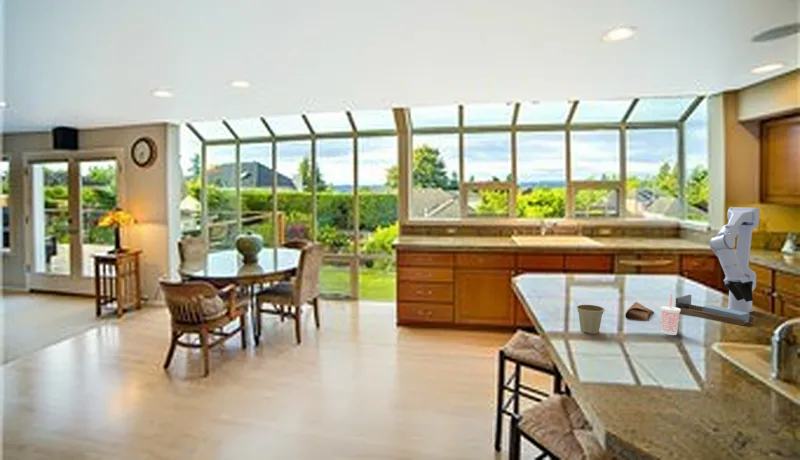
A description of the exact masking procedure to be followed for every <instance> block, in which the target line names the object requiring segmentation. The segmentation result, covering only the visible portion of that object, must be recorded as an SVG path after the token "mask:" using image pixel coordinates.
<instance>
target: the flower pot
mask: <svg viewBox="0 0 800 460" xmlns="http://www.w3.org/2000/svg"><path fill="white" fill-rule="evenodd" d="M575 308H576V309H577V312H578V318H579V319H578V320H579V327H580V331H581V332H582V333H588V334H598V333H599V332H600V329H601V324H602V318H603V314H604V313H605V310H606V309H605V308H604V307H602V306H599V305H596V304H595V305H594V304H578V305H576V307H575Z"/></svg>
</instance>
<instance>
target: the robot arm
mask: <svg viewBox="0 0 800 460" xmlns="http://www.w3.org/2000/svg"><path fill="white" fill-rule="evenodd" d="M760 215H761V214H760V209H759V208H758V207H740V206H739V207H735V206H730V207H729V208H728V210H727V215H726V218H727V220H728V222H727V224H724V225H723V226H722V227H721V228H720V230H719V231H718V232H717V235H716V236H713V237H711V239H710V240H709V248H710V249H711V250H712V252H713V253H714V255H715V256H716V257H717V258H718V261H719V263H720V266H721V269H722V270H723V273H724V275H725V276H724V279H723V282H724V286H725V288H727V290H729V291H728V305H727V306H728V307H727V308H728V309H732V310H737V311H742V312H747V313H749V314H750V313H752V312H755V309H754V308H753V300H754V298H753V296H754V295H753V291H754V290H755V289H756V287H757V274H756V272H755V271H754V270H752V269H751V268H750V267H749V266H750V256H751V255H750V254H751V249H752V248H751V245H752V237H753V231H754V229H757V228H759V224H760V217H761V216H760ZM736 238H737V240H736ZM735 247H736V249H734V248H735Z"/></svg>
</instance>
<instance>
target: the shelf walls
mask: <svg viewBox="0 0 800 460" xmlns="http://www.w3.org/2000/svg"><path fill="white" fill-rule="evenodd" d="M702 307H703V306H702V305H695V304H691V305H690V307H689V309H686V308H681V307H680V309H681V311H680V313H681V314H685V315H690V316H695V317H700V318H704V319H709V320H710V319H711V320H715V321H719V322H724V323H729V324H733V325H738V326H743V327H744V326H745V325H746V323H745V320H742V319H737V318H732V317H727V316H722V315H717V314H712V313H707V312H702ZM680 313H679V314H680ZM754 321H755V316H754V315H749V322H752V323H753V322H754Z"/></svg>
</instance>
